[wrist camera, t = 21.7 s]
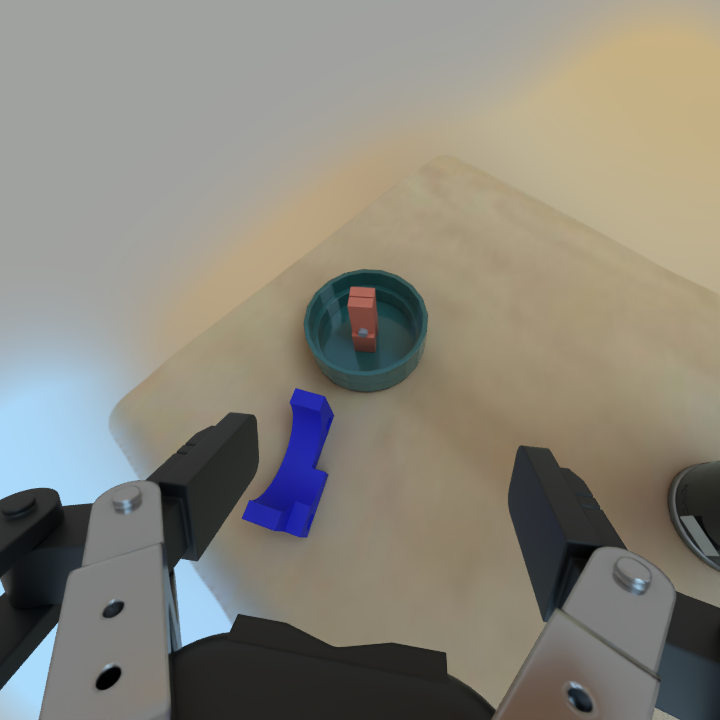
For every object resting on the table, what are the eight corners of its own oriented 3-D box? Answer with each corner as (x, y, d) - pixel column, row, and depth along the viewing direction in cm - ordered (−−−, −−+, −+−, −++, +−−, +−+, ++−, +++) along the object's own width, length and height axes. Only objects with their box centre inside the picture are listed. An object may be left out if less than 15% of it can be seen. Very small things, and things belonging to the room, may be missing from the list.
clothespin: (378, 327, 44) (375, 283, 37) (375, 353, 43) (371, 312, 35) (358, 326, 45) (351, 281, 37) (354, 351, 43) (346, 310, 35)
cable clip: (306, 537, 36) (291, 536, 30) (264, 521, 36) (241, 518, 31) (347, 419, 40) (339, 400, 35) (308, 408, 41) (295, 388, 36)
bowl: (426, 298, 46) (430, 272, 42) (420, 398, 41) (423, 381, 36) (323, 292, 48) (316, 266, 43) (303, 387, 42) (293, 369, 38)
